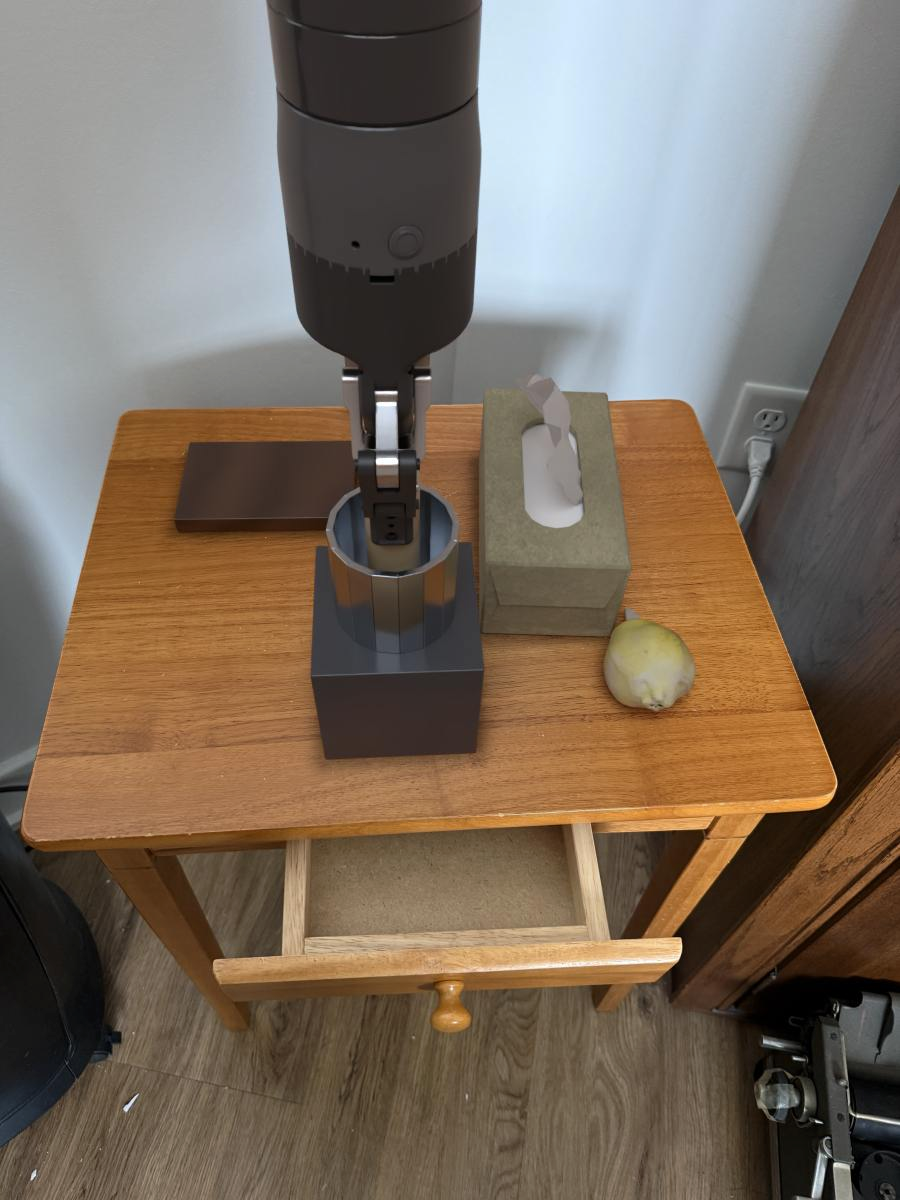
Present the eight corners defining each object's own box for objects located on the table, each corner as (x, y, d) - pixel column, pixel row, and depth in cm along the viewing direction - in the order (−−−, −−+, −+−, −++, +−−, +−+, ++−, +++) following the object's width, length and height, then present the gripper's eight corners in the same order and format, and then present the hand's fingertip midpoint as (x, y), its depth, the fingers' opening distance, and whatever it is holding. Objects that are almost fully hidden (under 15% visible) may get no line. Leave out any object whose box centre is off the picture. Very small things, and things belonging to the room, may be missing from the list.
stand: (324, 759, 59) (310, 676, 51) (328, 636, 65) (315, 545, 57) (476, 753, 59) (484, 670, 51) (465, 632, 65) (471, 541, 57)
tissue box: (478, 459, 77) (490, 297, 64) (591, 463, 77) (625, 302, 64) (479, 637, 65) (493, 481, 53) (612, 641, 65) (657, 487, 53)
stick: (360, 604, 53) (348, 454, 44) (385, 570, 55) (379, 419, 45) (404, 623, 52) (401, 475, 43) (428, 588, 54) (430, 438, 45)
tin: (313, 623, 53) (301, 545, 48) (374, 544, 57) (370, 463, 52) (419, 671, 51) (419, 596, 46) (475, 586, 55) (481, 507, 50)
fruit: (663, 614, 67) (714, 718, 60) (587, 640, 67) (628, 745, 60) (654, 561, 63) (707, 665, 56) (573, 589, 63) (615, 695, 56)
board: (177, 532, 71) (173, 519, 69) (192, 454, 76) (189, 441, 75) (354, 530, 71) (353, 517, 70) (356, 453, 77) (355, 440, 76)
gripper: (295, 123, 39) (327, 429, 52) (269, 314, 30) (315, 621, 44) (468, 125, 39) (455, 428, 53) (491, 314, 30) (468, 619, 44)
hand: (392, 514), depth 48 cm, fingers closed on stick, 3 cm apart
